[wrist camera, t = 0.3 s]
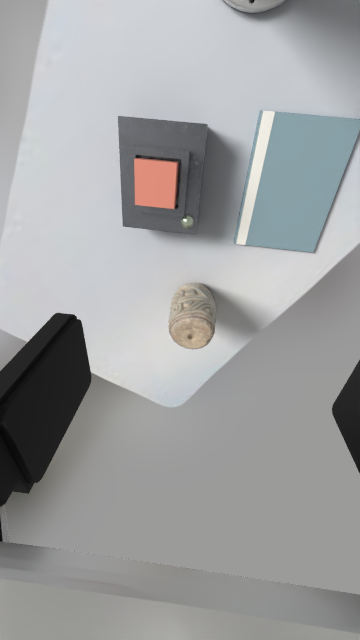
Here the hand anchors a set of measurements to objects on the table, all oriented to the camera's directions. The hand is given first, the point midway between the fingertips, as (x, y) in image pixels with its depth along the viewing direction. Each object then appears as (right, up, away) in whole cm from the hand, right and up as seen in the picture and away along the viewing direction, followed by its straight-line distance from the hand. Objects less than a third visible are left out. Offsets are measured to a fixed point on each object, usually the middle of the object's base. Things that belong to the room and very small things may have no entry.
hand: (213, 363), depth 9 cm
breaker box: (-3, +21, +27) cm, 35 cm away
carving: (+1, +6, +37) cm, 38 cm away
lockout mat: (+14, +19, +27) cm, 36 cm away
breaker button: (-4, +18, +22) cm, 28 cm away
